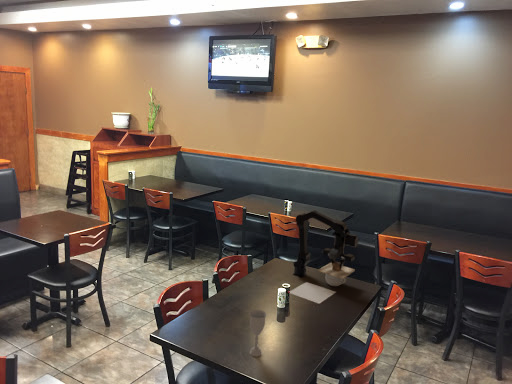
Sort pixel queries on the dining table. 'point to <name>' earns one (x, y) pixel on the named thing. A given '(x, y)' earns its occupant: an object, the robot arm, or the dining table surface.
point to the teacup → (334, 280)
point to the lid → (336, 270)
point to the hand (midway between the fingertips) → (336, 268)
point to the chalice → (256, 328)
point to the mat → (312, 292)
